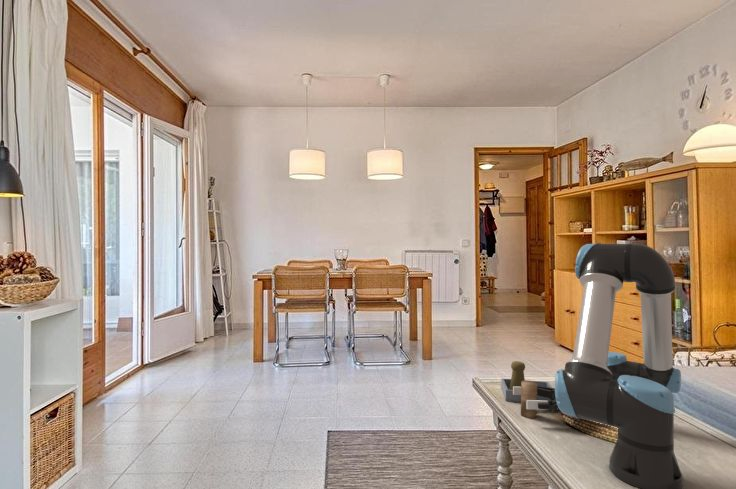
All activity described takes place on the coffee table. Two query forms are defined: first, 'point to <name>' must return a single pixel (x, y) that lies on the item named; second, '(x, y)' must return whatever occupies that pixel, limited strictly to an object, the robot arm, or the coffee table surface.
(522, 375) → the cork
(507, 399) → the tote
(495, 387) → the coffee table surface
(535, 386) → the walnut cylinder
